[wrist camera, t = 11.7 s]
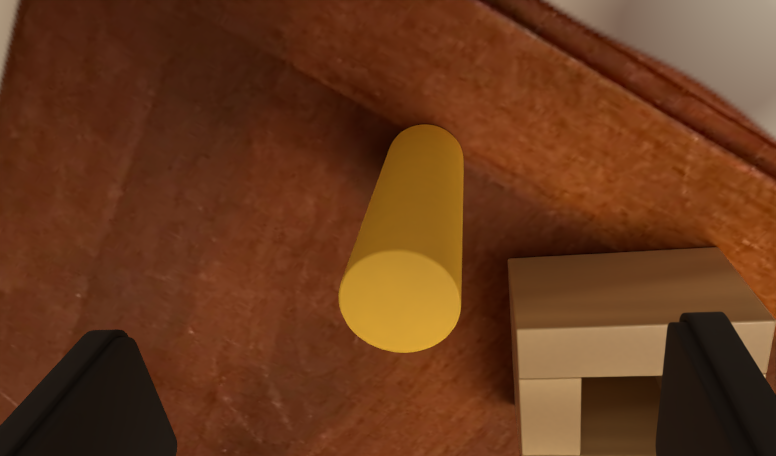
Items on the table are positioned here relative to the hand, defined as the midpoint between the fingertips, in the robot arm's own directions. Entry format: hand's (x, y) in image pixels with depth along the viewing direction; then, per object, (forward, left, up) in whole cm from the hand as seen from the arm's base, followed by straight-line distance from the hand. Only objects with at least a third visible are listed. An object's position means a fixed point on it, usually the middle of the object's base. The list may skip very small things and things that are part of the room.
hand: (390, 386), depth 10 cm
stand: (+10, +7, -14) cm, 18 cm away
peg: (+1, 0, -14) cm, 14 cm away
